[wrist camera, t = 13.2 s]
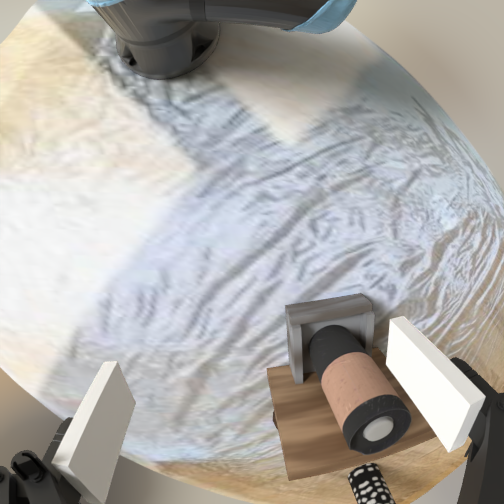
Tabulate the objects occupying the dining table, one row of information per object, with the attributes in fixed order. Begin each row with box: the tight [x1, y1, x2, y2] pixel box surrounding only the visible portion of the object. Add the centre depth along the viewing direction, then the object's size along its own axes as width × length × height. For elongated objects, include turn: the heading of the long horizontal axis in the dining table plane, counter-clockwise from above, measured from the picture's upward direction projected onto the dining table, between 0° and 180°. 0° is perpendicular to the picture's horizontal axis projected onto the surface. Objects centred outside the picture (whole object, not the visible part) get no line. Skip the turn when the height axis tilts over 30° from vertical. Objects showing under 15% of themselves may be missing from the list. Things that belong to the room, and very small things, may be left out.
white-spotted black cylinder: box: [348, 463, 396, 504], centre depth 50 cm, size 8×8×20 cm
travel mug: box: [309, 325, 412, 455], centre depth 35 cm, size 8×8×20 cm
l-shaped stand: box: [267, 293, 437, 481], centre depth 37 cm, size 13×20×22 cm, turn 96°
